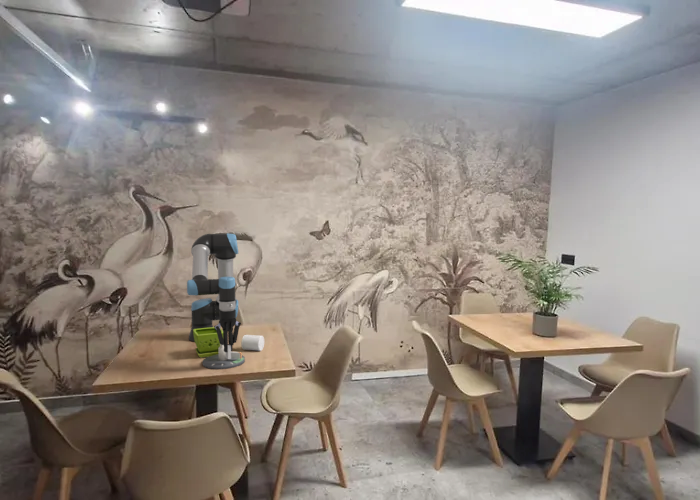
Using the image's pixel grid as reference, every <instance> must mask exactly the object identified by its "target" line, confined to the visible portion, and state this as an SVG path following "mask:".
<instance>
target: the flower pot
mask: <svg viewBox="0 0 700 500" xmlns="http://www.w3.org/2000/svg"><path fill="white" fill-rule="evenodd" d="M220 330H221V333H222V337H223V329H222V327H221V328H220ZM198 334H199V335H198ZM193 335H194V340H195V342H194V343H195V346H196V348H195V352H196V353H197V355H198V358H203V359H204V358H207V357H209V356H213V355H217V354H219V353H218V347H220V342H219V339H218V335H217V331H216V329H215V328H214V326H213V327H211V328H200V329H193Z"/></svg>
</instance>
